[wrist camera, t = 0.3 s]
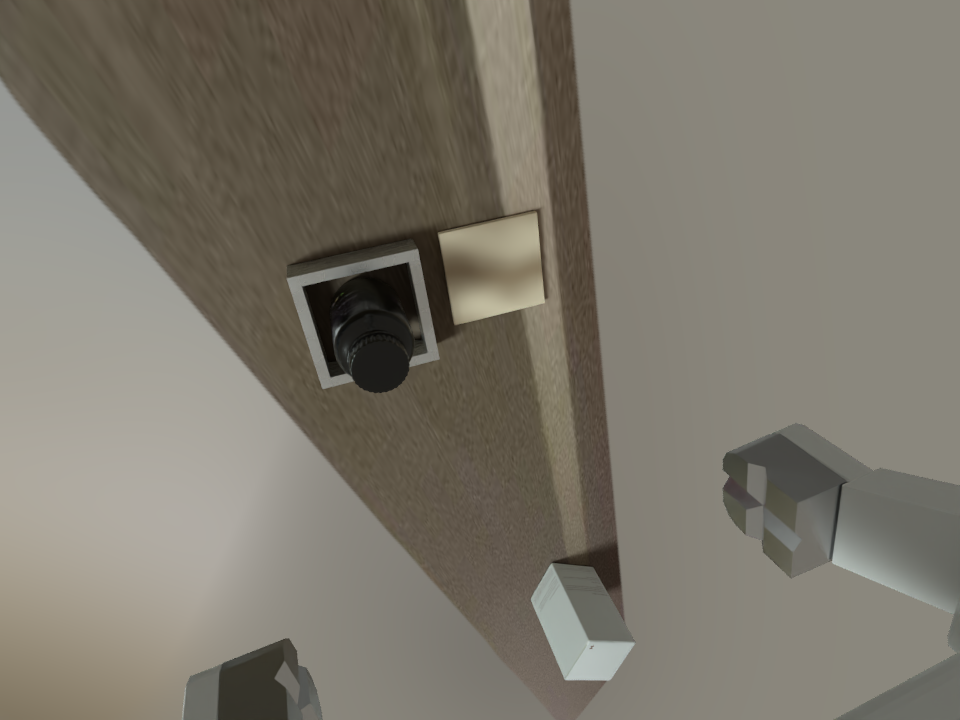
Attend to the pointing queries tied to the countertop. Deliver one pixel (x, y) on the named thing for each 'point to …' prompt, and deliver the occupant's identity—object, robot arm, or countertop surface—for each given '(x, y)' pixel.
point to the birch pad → (492, 267)
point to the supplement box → (581, 623)
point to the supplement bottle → (371, 334)
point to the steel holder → (352, 265)
